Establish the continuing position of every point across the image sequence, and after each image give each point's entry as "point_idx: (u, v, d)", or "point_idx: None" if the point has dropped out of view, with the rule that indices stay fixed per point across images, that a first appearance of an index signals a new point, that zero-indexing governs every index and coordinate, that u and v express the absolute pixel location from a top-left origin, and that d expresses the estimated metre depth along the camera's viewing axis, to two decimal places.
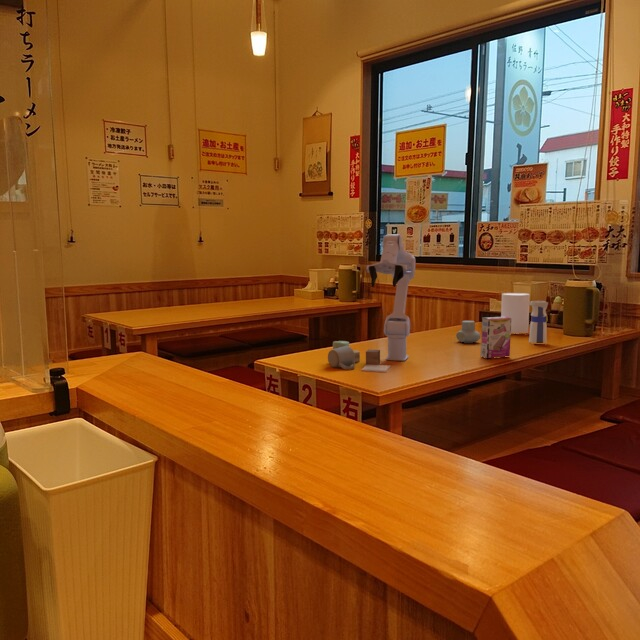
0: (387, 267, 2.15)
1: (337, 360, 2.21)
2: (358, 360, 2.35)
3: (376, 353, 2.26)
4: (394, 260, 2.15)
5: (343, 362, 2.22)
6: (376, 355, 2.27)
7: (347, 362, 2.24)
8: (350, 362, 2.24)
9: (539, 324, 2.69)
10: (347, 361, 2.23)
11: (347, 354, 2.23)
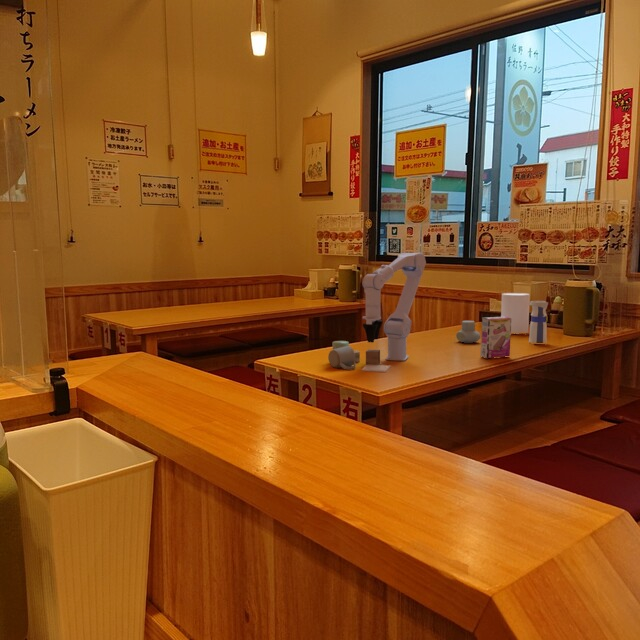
0: None
1: (338, 360, 2.21)
2: (358, 360, 2.35)
3: (376, 353, 2.26)
4: (368, 312, 2.25)
5: (344, 362, 2.22)
6: (376, 355, 2.27)
7: (348, 362, 2.23)
8: (351, 362, 2.24)
9: (539, 324, 2.69)
10: (348, 361, 2.23)
11: (348, 354, 2.23)
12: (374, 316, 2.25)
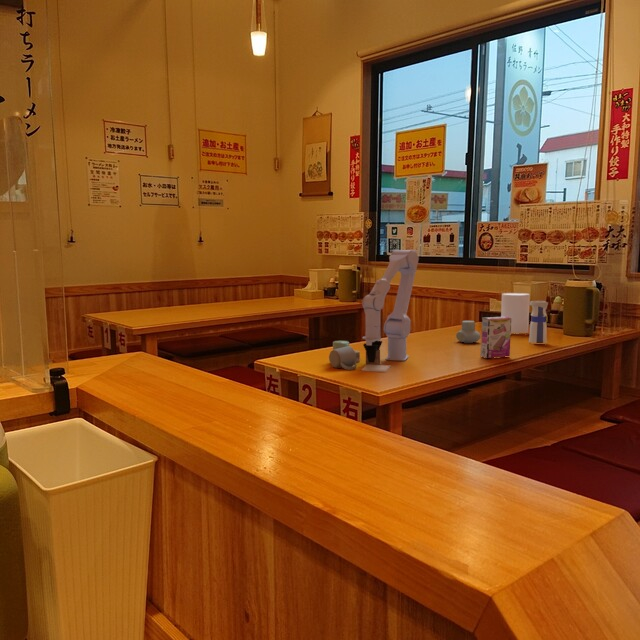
0: None
1: (338, 360, 2.21)
2: (358, 360, 2.35)
3: (376, 353, 2.26)
4: (368, 332, 2.26)
5: (344, 362, 2.22)
6: (376, 355, 2.27)
7: (348, 362, 2.23)
8: (351, 362, 2.24)
9: (539, 324, 2.69)
10: (348, 361, 2.23)
11: (348, 354, 2.23)
12: (374, 337, 2.26)
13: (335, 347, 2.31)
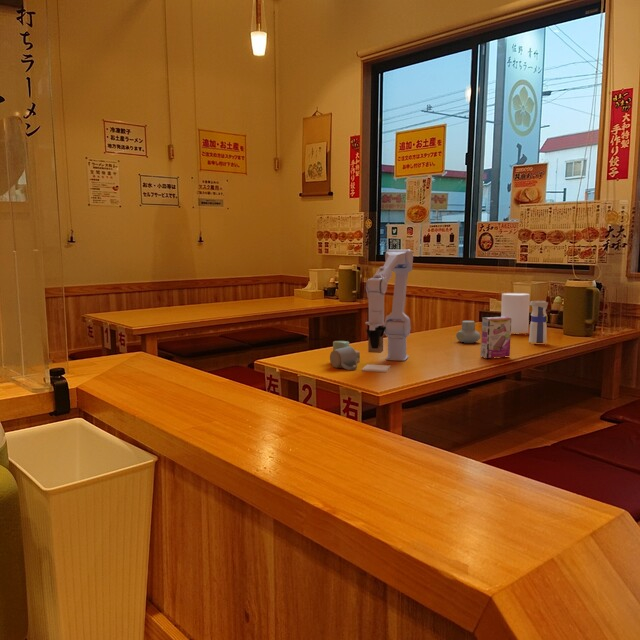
0: None
1: (339, 360, 2.20)
2: (358, 360, 2.35)
3: (379, 339, 2.17)
4: (371, 317, 2.17)
5: (345, 363, 2.21)
6: (379, 341, 2.17)
7: (349, 363, 2.23)
8: (352, 363, 2.23)
9: (539, 324, 2.69)
10: (349, 362, 2.22)
11: (349, 354, 2.22)
12: (377, 322, 2.16)
13: (335, 347, 2.32)
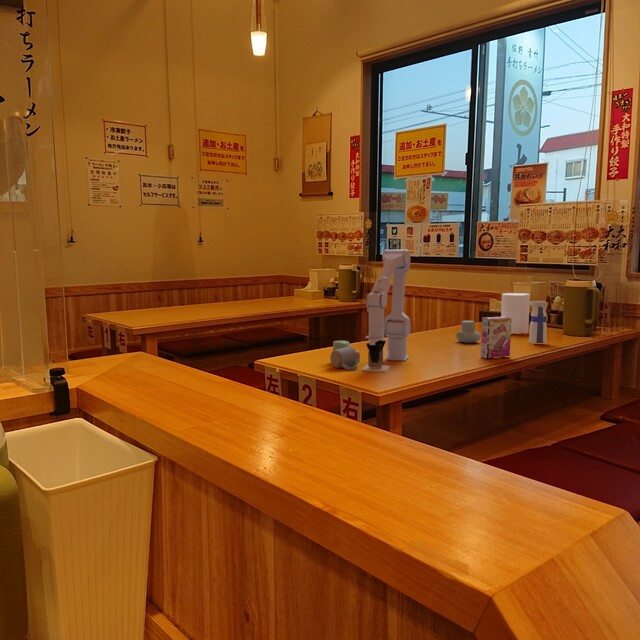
0: None
1: (340, 361, 2.20)
2: (358, 360, 2.35)
3: (379, 354, 2.18)
4: (371, 331, 2.17)
5: (346, 363, 2.21)
6: (379, 356, 2.18)
7: (350, 363, 2.22)
8: (353, 363, 2.23)
9: (539, 324, 2.69)
10: (350, 362, 2.22)
11: (350, 355, 2.22)
12: (377, 336, 2.17)
13: (336, 347, 2.31)
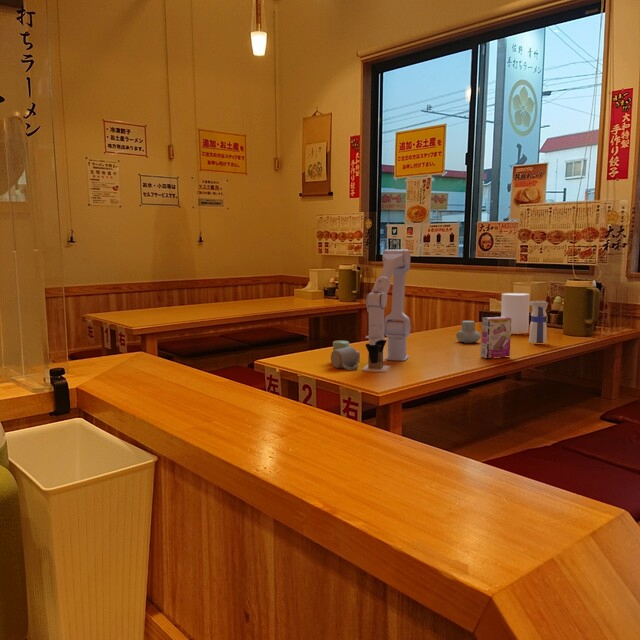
0: None
1: (340, 361, 2.20)
2: (358, 360, 2.35)
3: (379, 355, 2.18)
4: (371, 331, 2.17)
5: (346, 363, 2.21)
6: (379, 357, 2.18)
7: (350, 363, 2.22)
8: (353, 363, 2.23)
9: (539, 324, 2.69)
10: (350, 362, 2.22)
11: (350, 355, 2.22)
12: (377, 336, 2.17)
13: (336, 347, 2.31)
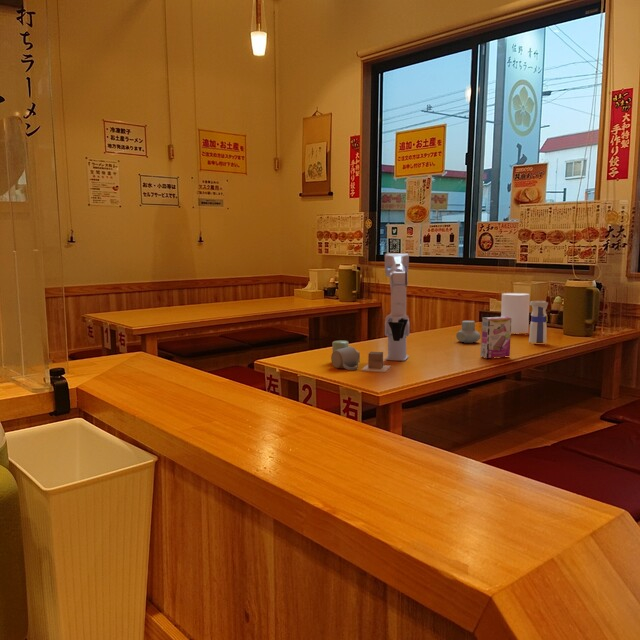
0: None
1: (340, 361, 2.20)
2: (358, 360, 2.35)
3: (379, 355, 2.18)
4: (394, 310, 2.21)
5: (346, 363, 2.21)
6: (379, 357, 2.18)
7: (351, 363, 2.22)
8: (354, 363, 2.23)
9: (539, 324, 2.69)
10: (351, 362, 2.22)
11: (351, 355, 2.22)
12: (400, 314, 2.20)
13: (336, 347, 2.31)
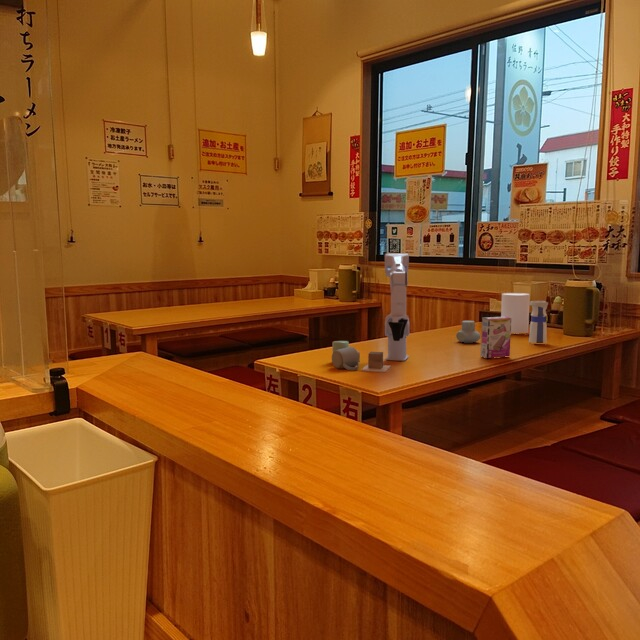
0: None
1: (341, 361, 2.19)
2: None
3: (379, 355, 2.18)
4: (394, 310, 2.21)
5: (347, 363, 2.21)
6: (379, 357, 2.18)
7: (351, 363, 2.22)
8: (354, 363, 2.23)
9: (539, 324, 2.69)
10: (351, 362, 2.21)
11: (351, 355, 2.21)
12: (400, 314, 2.20)
13: (336, 347, 2.31)
